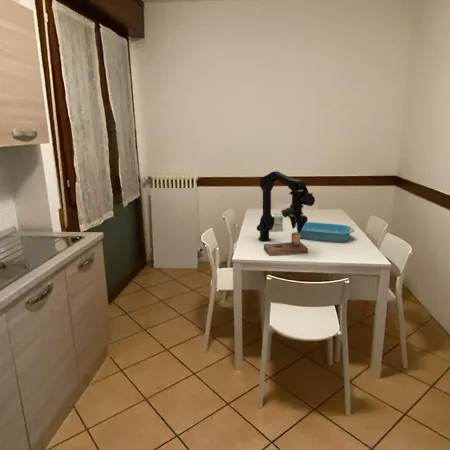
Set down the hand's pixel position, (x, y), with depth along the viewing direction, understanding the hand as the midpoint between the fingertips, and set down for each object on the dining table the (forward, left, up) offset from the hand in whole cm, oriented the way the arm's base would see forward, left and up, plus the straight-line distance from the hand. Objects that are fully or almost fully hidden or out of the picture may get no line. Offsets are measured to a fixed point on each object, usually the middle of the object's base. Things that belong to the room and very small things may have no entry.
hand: (296, 230), depth 205 cm
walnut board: (0, -6, -12) cm, 13 cm away
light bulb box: (-44, 0, -12) cm, 46 cm away
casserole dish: (-22, +26, -12) cm, 36 cm away
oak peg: (0, 0, -12) cm, 12 cm away
